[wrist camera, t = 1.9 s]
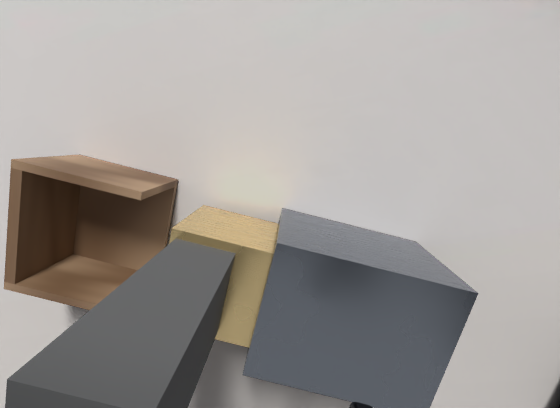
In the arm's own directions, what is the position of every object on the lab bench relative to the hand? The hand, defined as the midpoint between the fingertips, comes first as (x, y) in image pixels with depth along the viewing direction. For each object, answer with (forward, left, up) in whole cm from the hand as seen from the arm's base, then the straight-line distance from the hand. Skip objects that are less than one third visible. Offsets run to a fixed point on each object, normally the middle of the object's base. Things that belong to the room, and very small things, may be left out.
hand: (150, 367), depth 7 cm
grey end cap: (-5, 0, -8) cm, 9 cm away
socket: (+5, 0, -8) cm, 9 cm away
